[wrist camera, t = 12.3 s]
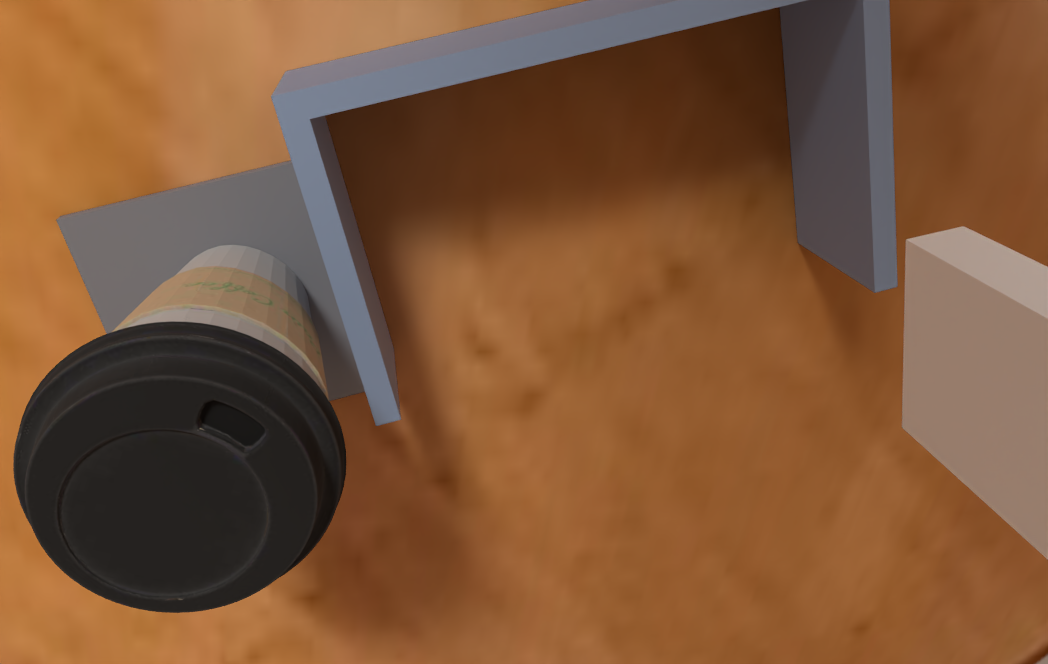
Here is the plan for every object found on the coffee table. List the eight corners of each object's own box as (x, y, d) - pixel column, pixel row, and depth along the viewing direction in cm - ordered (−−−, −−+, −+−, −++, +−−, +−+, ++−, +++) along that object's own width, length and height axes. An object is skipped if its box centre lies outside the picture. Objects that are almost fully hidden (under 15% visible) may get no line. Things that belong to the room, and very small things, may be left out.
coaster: (60, 216, 37) (56, 219, 36) (323, 152, 37) (322, 155, 37) (159, 440, 41) (157, 446, 41) (391, 378, 42) (392, 384, 41)
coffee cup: (360, 221, 38) (364, 368, 25) (336, 415, 42) (327, 639, 28) (125, 189, 36) (-14, 331, 22) (119, 396, 39) (-5, 630, 26)
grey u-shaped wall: (285, 71, 36) (271, 96, 30) (797, -49, 38) (887, -49, 31) (372, 353, 41) (376, 426, 35) (817, 237, 43) (897, 286, 37)
